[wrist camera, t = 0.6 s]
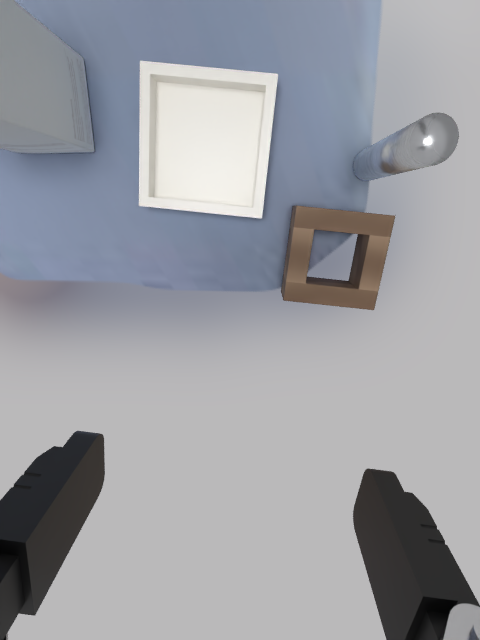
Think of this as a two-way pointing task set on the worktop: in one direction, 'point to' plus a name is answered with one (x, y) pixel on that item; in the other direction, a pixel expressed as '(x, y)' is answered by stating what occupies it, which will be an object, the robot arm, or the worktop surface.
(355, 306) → the bore block
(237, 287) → the worktop surface
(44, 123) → the supplement box
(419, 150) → the cylinder
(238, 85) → the tray
